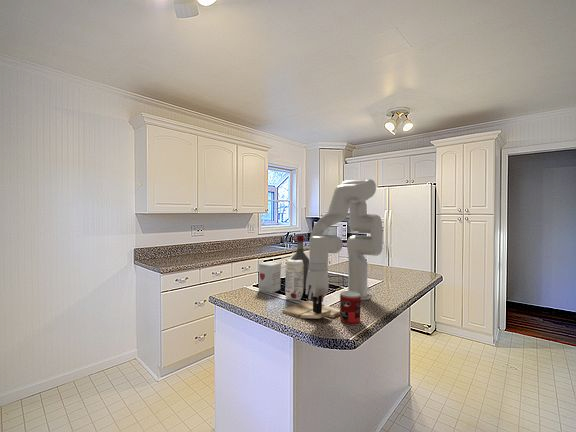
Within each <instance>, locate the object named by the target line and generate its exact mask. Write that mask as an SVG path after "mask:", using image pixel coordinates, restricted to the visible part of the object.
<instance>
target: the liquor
mask: <svg viewBox="0 0 576 432" xmlns="http://www.w3.org/2000/svg"><path fill="white" fill-rule="evenodd" d="M296 241H297V246H296V248H297V249H296V252H295V253H294V254H293V256H292V257H291V258H290V259H291V260H302V261H303V266H304V275H303V291H306V290H305V289H306V279H307V273H308V271H309V257H308V256H307V254H305V251H304V234H303V235H301V234H297V236H296Z"/></svg>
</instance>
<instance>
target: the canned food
mask: <svg viewBox="0 0 576 432" xmlns="http://www.w3.org/2000/svg"><path fill="white" fill-rule="evenodd" d="M361 301H362V300H361V294H360V293H357V292H353V291H348V290H346V291H345V290H344V291H341V292H340V295H339V309H340V315H339V319H340V322H342V323H344V324H347V325H357V324H359V323H360V321H361V309H362V308H361V303H362V302H361Z"/></svg>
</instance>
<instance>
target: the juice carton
mask: <svg viewBox="0 0 576 432" xmlns="http://www.w3.org/2000/svg"><path fill="white" fill-rule="evenodd" d="M303 275H304V266H303V261H302V260H291V258H290V259H287V260H286V263H285V275H284V276H285V277H284V278H285V282H284V284H285V285H284V286H285V291H284V293H285V299H286V300H294V301H301V299H302V297H303V294H304V290H303Z"/></svg>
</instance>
